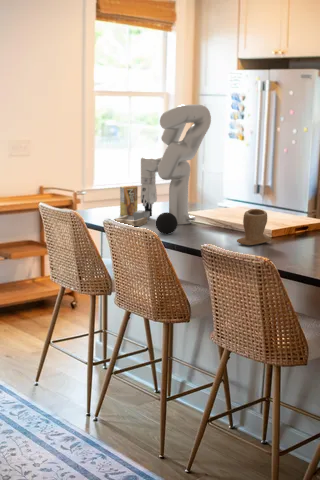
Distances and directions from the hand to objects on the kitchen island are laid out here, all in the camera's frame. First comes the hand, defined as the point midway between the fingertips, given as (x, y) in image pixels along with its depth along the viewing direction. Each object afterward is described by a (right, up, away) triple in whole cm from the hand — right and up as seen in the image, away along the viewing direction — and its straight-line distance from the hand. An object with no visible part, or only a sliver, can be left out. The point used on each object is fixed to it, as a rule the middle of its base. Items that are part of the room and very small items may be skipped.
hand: (148, 216), depth 373 cm
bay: (-8, -4, -17) cm, 20 cm away
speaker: (+9, -10, -43) cm, 46 cm away
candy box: (-11, +1, +11) cm, 15 cm away
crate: (-3, -3, -7) cm, 8 cm away
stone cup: (+47, -14, -66) cm, 82 cm away
